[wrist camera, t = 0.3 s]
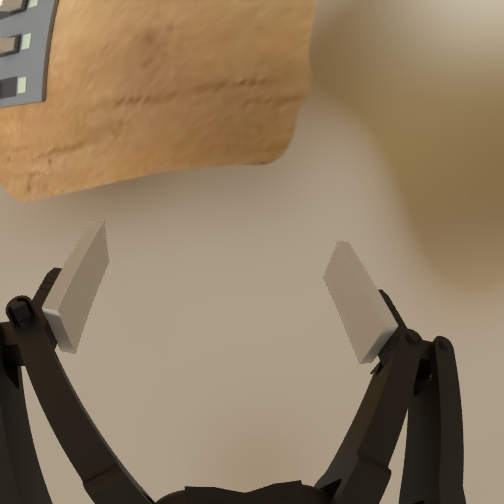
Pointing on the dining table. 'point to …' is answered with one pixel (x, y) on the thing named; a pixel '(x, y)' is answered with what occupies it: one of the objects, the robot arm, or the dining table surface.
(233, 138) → the dining table surface
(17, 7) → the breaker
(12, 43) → the breaker
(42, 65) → the panel
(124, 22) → the dining table surface
